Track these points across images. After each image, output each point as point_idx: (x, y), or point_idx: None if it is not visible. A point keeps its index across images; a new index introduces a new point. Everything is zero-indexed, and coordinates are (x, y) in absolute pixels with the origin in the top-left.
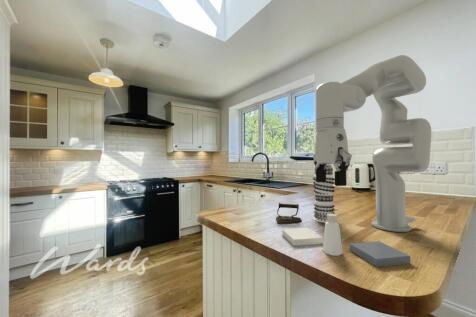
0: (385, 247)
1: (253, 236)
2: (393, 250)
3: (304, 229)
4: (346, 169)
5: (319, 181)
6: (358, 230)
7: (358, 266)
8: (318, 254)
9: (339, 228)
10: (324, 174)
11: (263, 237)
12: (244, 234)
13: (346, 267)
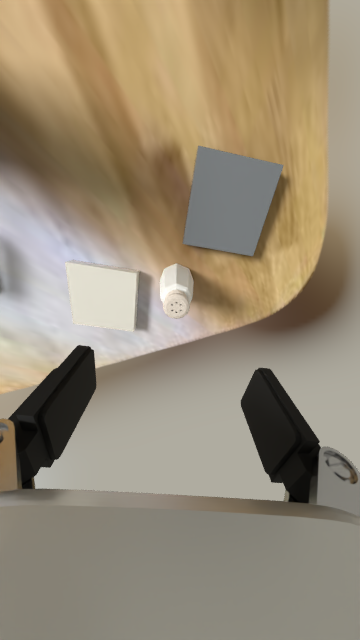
0: (231, 175)
1: None
2: (249, 174)
3: (78, 279)
4: (348, 472)
5: (94, 380)
6: (58, 52)
7: (232, 280)
8: None
9: (188, 284)
10: (70, 391)
11: None
12: None
13: (226, 299)
